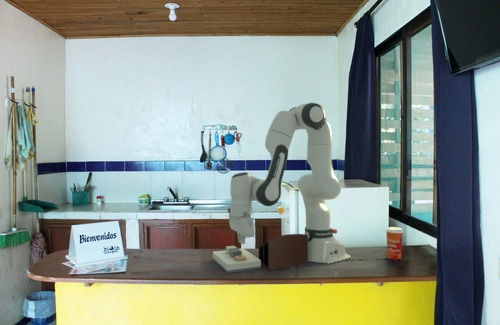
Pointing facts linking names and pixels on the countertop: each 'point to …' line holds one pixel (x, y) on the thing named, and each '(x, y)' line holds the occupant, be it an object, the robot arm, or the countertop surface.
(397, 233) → the paper cup
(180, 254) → the countertop surface
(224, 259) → the cream key base
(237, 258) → the terracotta key
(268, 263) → the letter holder
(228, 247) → the sage key
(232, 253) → the charcoal key
